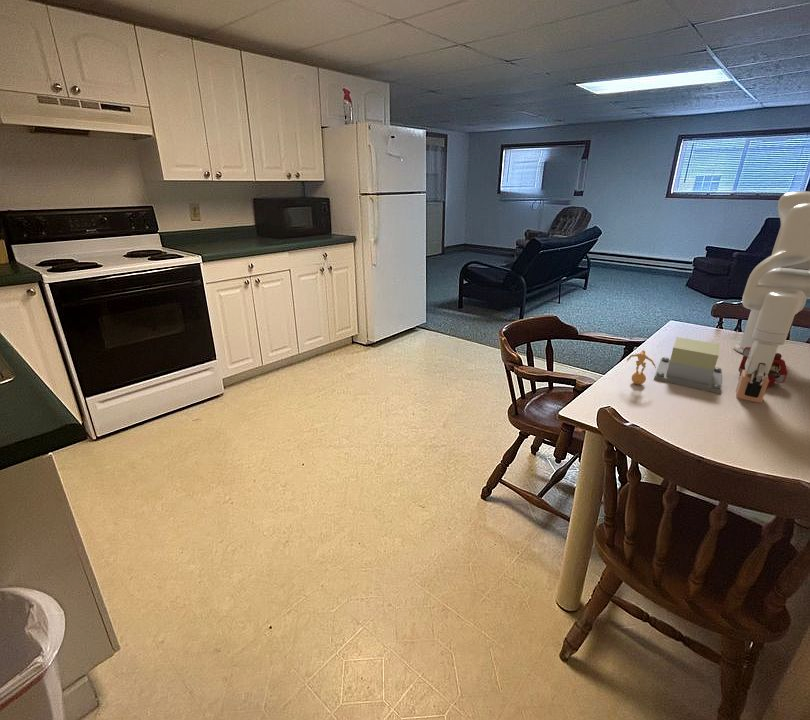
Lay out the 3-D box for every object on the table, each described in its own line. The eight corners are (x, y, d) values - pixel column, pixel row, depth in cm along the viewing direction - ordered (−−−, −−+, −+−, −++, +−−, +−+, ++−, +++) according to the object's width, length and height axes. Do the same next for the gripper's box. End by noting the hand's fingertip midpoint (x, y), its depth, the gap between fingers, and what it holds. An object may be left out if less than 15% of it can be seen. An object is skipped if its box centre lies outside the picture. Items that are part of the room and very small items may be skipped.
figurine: (653, 385, 138) (662, 350, 133) (647, 392, 134) (656, 355, 129) (625, 378, 143) (633, 343, 138) (619, 384, 139) (627, 348, 134)
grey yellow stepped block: (660, 361, 156) (667, 332, 152) (720, 373, 147) (730, 343, 143) (653, 379, 142) (661, 348, 138) (720, 393, 133) (730, 361, 129)
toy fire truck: (779, 390, 135) (791, 359, 131) (732, 378, 144) (741, 348, 140) (784, 384, 140) (795, 354, 136) (738, 372, 148) (747, 343, 144)
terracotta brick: (735, 390, 136) (742, 369, 133) (759, 395, 132) (767, 374, 130) (736, 397, 131) (743, 376, 128) (761, 403, 128) (768, 381, 125)
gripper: (751, 325, 133) (734, 377, 139) (754, 341, 120) (735, 397, 126) (783, 330, 129) (764, 383, 135) (789, 347, 116) (768, 404, 122)
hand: (750, 389), depth 131 cm, fingers open, 9 cm apart
